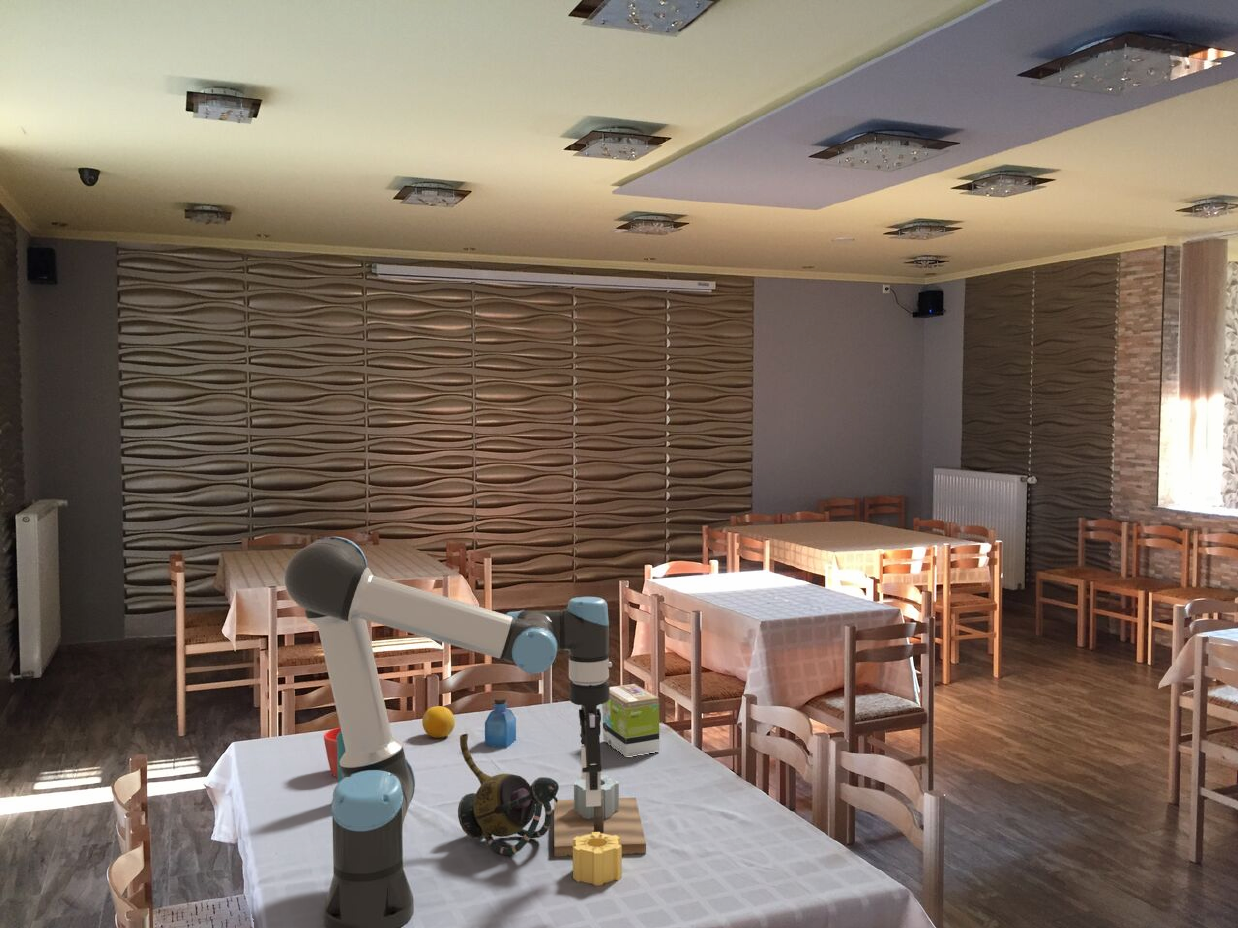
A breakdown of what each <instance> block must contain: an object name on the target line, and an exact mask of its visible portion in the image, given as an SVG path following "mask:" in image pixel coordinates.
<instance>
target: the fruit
mask: <svg viewBox="0 0 1238 928" xmlns="http://www.w3.org/2000/svg"><path fill="white" fill-rule="evenodd" d="M422 728H423V730H424V732H425V733H426V734H427V735H428V736H429V737H432V738H435V739H440V738H444V737H447V736H448V735H450V734H452V732H453V730H454V728H455V717H454V714H453V712H452V711H451V710H450V709H449V708H448V707H446V706H441V705H436V706H432V707H429V708H428V709H427V710H425V712H424V714H423V716H422Z"/></svg>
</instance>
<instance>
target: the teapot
mask: <svg viewBox="0 0 1238 928" xmlns="http://www.w3.org/2000/svg"><path fill="white" fill-rule="evenodd" d="M468 738H469V734H468V733H463V734H461V735H459V745H460V751H461V753H462V757H463V759H464V761H465V763H466V765H467V766H468V767H469V769H470V770H471V771H472V773H473V774H474V775H475V777H476V778H477V780H478V781H479V783H480V786H479V788H478V789H477V790H476V792H475V793H473V792H470V793H467V794H465V795H463V797H461V799H460V801H459V803H458V808H457V818H458V822H459V825H460V827H461V829H462V831H463V833H465V834H466V835H467V836H468V837H469V838H471V839H475V840H478V839H482V838H484V839H485V842H487V844H488V845H489V846H490V848H491V850H493V851H494V852H495V853H498V854H499V855H503V856H511V855H516V854H517V853H518V852H520V851H521V850H522V849H523V848H524V846H526V845H527V843H528V842H529V841H530V839H539V838H541V837H543V836H544V835H546V833H547V832H548V830H549V828H550V826H551V824H552V819H553V810H552V805H551V803H550V802H551V801H552V800H553V801H554V800H555V801H556V803H557V802H558V800H559V799H558V797H556V796H557V795H558V792H559V789H560V787H559V783H558V782H557V781H556V780H555V779H553V778H550V777H546V776H545V777H537V778H536V779H535V778H534V781H532V784H530V783H529V782H528V781H527V779H526V778H524V777H522V776H520V775H516V774H512V773H499V774H496V775H493V776H490V775H488V774H486V773H484V771H482V770H481V769H480V768H479V767H478V766H477V765H476V763H475V761H474V759H473V757H472V755H471V753H470V750H469V747H468ZM543 807H544V808H543ZM543 809H544V813H545V815H544V822H543V825H542V826H541V828H540V829H538V830H536V829H537V828H538V826H539V823H540V819H541V816H542V811H543ZM531 820H532V821H531ZM530 822H531V823H530ZM529 823H530V825H529V827H528V830H527V829H525V827H526V826H527V825H528V824H529ZM515 834H516V835H518V836H521V839H520V840H519V841H518V842H517V843H516V844H514V845H512V846H511V847H510V846H509V847H504V846H501V845H499V844H498V843H497V841H496V840H495V839H494V837H499V838H503V837H505V838H506V837H510V836H514V835H515ZM493 836H494V837H493Z"/></svg>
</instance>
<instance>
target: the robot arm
mask: <svg viewBox="0 0 1238 928" xmlns="http://www.w3.org/2000/svg"><path fill="white" fill-rule="evenodd" d="M284 583H285V584H284V585H285V588H286V591H287V593H288V595H289V597H290V598H291V599H292V601H293V602H294V603H295V604H297V605H298V606H300V607H301V608H303V609H304V612H305V616H306V617H305V618H306V620H307V621H309V622H311V623H313V624H314V625H316V627H317V631H318V633H319V635H318V636H319V639H320V643H321V648H322V652H323V657H324V660H325V661H324V662H325V665H326V668H327V674H328V679H329V684H330V687H331V691H332V697H333V700H334V704H335V705H334V706H335V709H336V710H335V711H336V712H337V713H336V714H337V718H338V719H337V720H338V723H339V728H340V727H341V732H342V736H343V741H344V745H345V750H346V751H345V753H344V755H343V756H342V758H341V759H340V767H341V771H342V776H343V780H341V781H340V782H339V783H338V782H337V784H336V785H335V787H334V790H333V793H332V798H331V799H332V800H331V803H330V804H331V805H330V807H331V815H332V860H333V861H332V863H333V867H332V869H333V875H332V876H333V877H332V880H331V882H330V886H329V889H328V892H327V895H326V898H325V901H324V904H323V905H324V906H323V925H324V927H325V928H400V927H402V926H403V925H405V924H406V923H407V922H409V921H410V920H411V919H412V916H413V915H414V912H415V911H414V910H415V908H414V907H415V905H414V904H415V903H414V902H415V901H414V895H413V891H412V889H411V886H410V883H409V881H408V878H407V875H406V872H405V870H404V860H403V859H404V852H403V851H404V850H403V849H404V848H403V846H404V845H403V839H404V838H403V828H404V826H403V825H404V821H405V818H406V816H407V813H408V810H409V806H410V804H411V803H412V800H413V797H414V793H415V788H416V779H415V773H414V770H413V767H412V765H411V763H410V761H408V759H407V758H406V755H405V750H404V746H403V743H402V742H401V740H398V739H396V738H394V737H393V735H392V730H391V725H390V722H389V717H388V713H387V708H386V704H385V699H384V695H383V690H382V686H381V682H380V677H379V673H378V668H377V663H376V659H375V653H374V651H373V645H372V642H371V636H370V632H369V628H368V624H367V622H370V623H375V624H378V625H382V626H383V627H384V626H385V627H389V628H392V629H396V630H399V631H401V632H402V631H403V632H406V633H408V634H409V633H410V634H413V635H416V636H420V637H423V638H426V639H430V640H434V641H436V642H440V643H443V644H444V643H445V644H447V645H451V646H454V647H457V648H461V649H463V650H468V651H471V652H476V653H479V654H482V655H486V656H489V657H493V658H497V659H500V660H503V661H505V662H508V663H513V664H515V665H516V666H517V667H518V669H520V670H522V671H523V672H525V673H527V674H540V673H543V672H546V671H547V670H549V668H550V667H552V665H553V663H554V661H555V660H556V658H557V655H558V651H568V678H569V680H570V682H569V687H568V688H569V700H570V702H571V703H572V704H574V705H577V706H581V707H580V709H578V718H579V726H580V735H579V736H580V739H581V740H580V743H581V747H580V748H581V749H580V751H581V752H580V754H581V756H580V757H581V759H580V760H581V763H580V764H581V777H582V780H586V807H592V806H601V776H602V775H601V771H602V764H601V763H602V762H601V744H600V743H601V741H600V738H601V721H602V713H601V709H600V708H597V707H598V706H600V705H602V704H604V703H606V702H608V701H609V698H610V692H609V687H610V682H609V680H608V679H609V678H610V669H609V668H611V667H613V663H612V662H611V661H610V660H609V658H610V638H609V637H610V634H609V633H610V627H609V626H610V621H609V609H608V603H607V601H606V600H605V599H603V598H602V597H598V596H580V597H573V598H571V599H570V600H568V603H567V608H563V609H557V610H554V609H553V610H549V609H548V610H525V609H522V610H518V611H509V612H507V613H501V612H498V611H494V610H491V609H487V608H484V607H481V606H478V605H474V604H470V603H469V602H465V601H461V600H458V599H454V598H450V597H447V596H444V595H441V594H438V593H434V592H430V591H427V590H423V589H419V588H417V587H413V586H410V585H407V584H403V583H400V582H397V581H393V580H390V579H387V578H384V577H381V576H376V575H374V574H373V572H372V571H371V569H370V568H369V567H368V562H367V558H366V555H365V554H364V552H363V550H362V549H361V548H360V547H359V545H357V544H356V543H355V542H354V541H352V540H350V539H348V538H345V537H342V536H341V537H340V536H328V537H322V538H319V539H316V540H315V541H313V542H311V543H310V544H309V545H307V546H305V547H304V548H301V549H300V550H299V551H297V552H296V553H295V554H294V555H293V556H292V557H291V559H290V560H289V562H288V563H287V565H286V568H285V575H284Z"/></svg>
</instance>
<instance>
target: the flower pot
mask: <svg viewBox="0 0 1238 928" xmlns="http://www.w3.org/2000/svg"><path fill="white" fill-rule="evenodd" d="M340 731H341V727H340V726H339V727H336V728H332V729H329V730H328V731H325V733H324V734H323V741H324V746H325V753H326V756H327V757H326V758H327V762H328V767H329V770H330V774H331V775H332V776H333V777H335V778H338V773H337V734H338V733H339V732H340Z"/></svg>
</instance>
